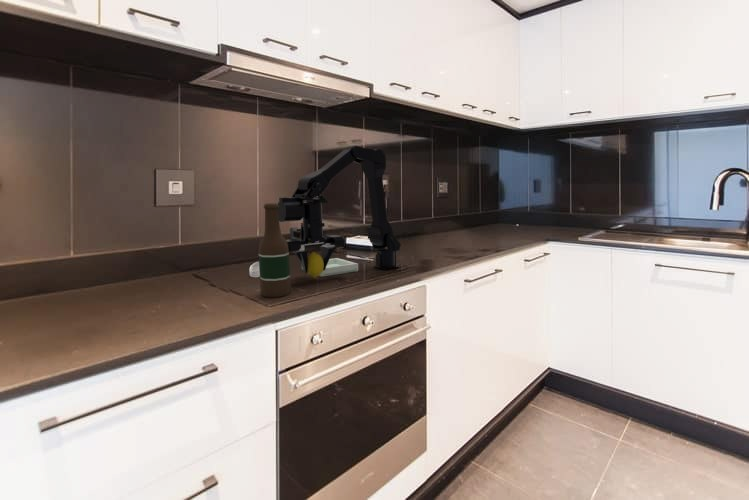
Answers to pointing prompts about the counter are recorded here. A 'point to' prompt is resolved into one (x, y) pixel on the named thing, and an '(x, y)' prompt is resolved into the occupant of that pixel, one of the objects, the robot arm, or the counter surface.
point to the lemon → (315, 264)
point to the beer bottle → (273, 256)
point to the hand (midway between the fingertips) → (314, 271)
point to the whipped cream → (254, 270)
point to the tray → (338, 267)
